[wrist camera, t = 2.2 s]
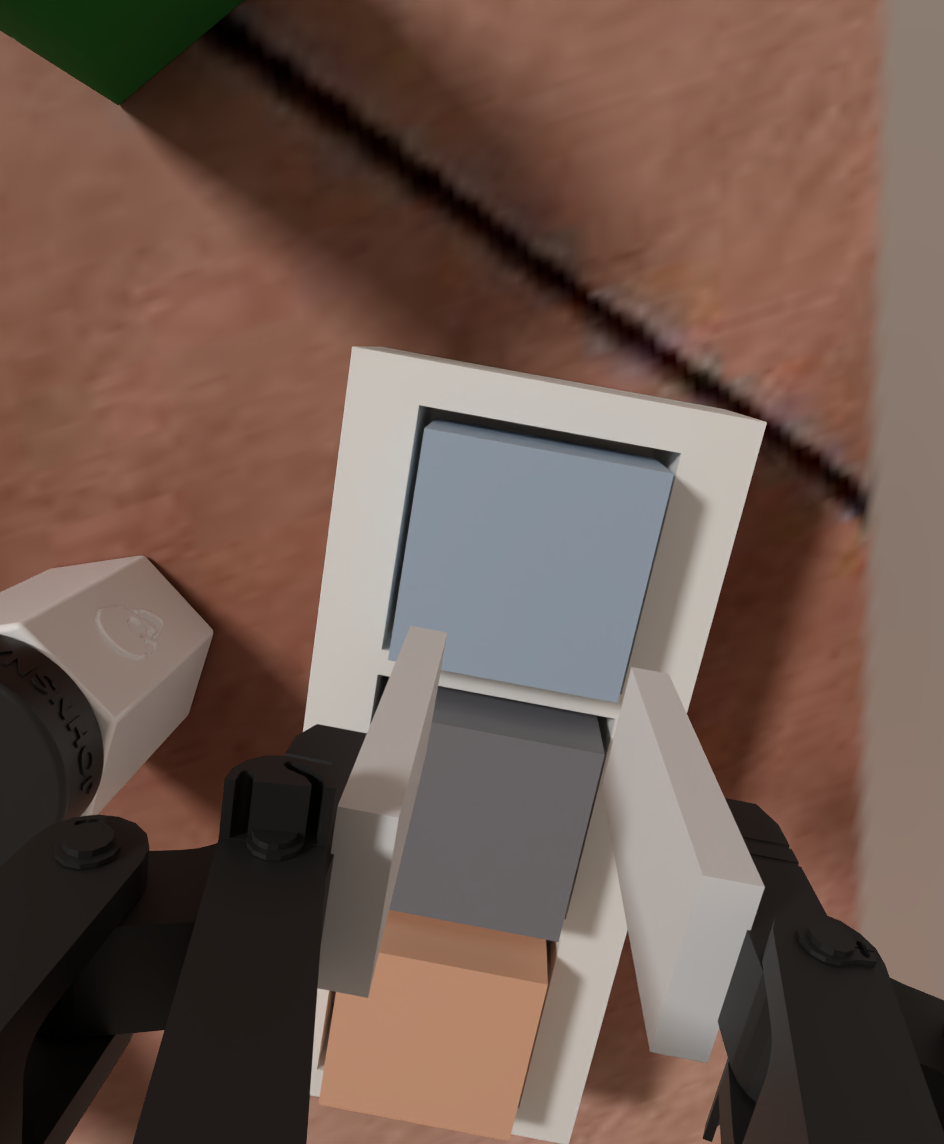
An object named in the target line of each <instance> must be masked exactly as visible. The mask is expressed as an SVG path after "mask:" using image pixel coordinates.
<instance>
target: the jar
mask: <svg viewBox="0 0 944 1144" xmlns="http://www.w3.org/2000/svg"><path fill="white" fill-rule="evenodd" d="M212 637H213V630H212V628H211V627H210V626H209V625H208V624H207V623H206V622H205V621H204V619H203V618H202V617H201V616H200V615H199V614H198V613H197V612H196V611H195V610H194V609H193V608H192V606H191V605H190V604H189V603H188V602H187V601H186V600H185V599H184V598H183V597H182V596H181V595H180V593H179V592H178V591H177V590H176V589H175V588H174V587H173V586H172V585H171V584H170V583H169V581H168V580H167V579H166V578H165V577H164V576H163V575H162V574H161V573H160V572H159V571H158V569H157V568H156V567H155V566H154V565H153V564H152V563H151V562H150V561H149V560H148V559H147V558H146V557H145V556H134V557H127V558H121V559H114V560H107V561H101V562H94V563H87V564H80V565H73V566H66V567H59V568H52V569H49V570H47V571H45V572H42V573H40V574H38V575H36V576H34V577H32V578H30V579H27V580H25V581H23V582H21V583H19V584H17V585H15V586H12V587H10V588H8V589H6V590H4V591H2V592H0V866H1V865H3V864H4V863H5V862H6V861H7V860H8V859H9V858H10V857H11V856H12V855H14V854H15V853H16V852H17V851H18V850H19V849H20V848H21V847H22V846H24V845H25V844H26V843H27V842H28V841H29V840H30V839H31V838H32V837H33V836H35V835H36V834H38V833H39V832H41V831H43V830H44V829H46V828H47V827H49V826H50V825H52V824H55V823H58V822H61V821H64V820H67V819H70V818H73V817H81V816H89V815H98V814H99V813H100V811H101V810H102V809H103V808H104V807H105V806H106V805H107V804H108V803H109V802H110V800H111V799H112V798H113V797H114V796H115V795H116V794H117V793H118V792H119V790H120V789H121V788H122V787H123V786H124V785H125V784H126V783H127V782H128V781H129V779H130V778H131V777H132V776H133V775H134V774H135V773H136V772H137V771H138V770H139V768H140V767H141V766H142V765H143V764H144V763H145V762H146V761H147V760H148V759H149V758H150V756H151V755H152V754H153V753H154V752H155V751H156V750H157V749H158V748H159V747H160V745H161V744H162V743H163V742H164V741H165V740H166V739H167V738H168V737H169V736H170V734H171V733H172V732H173V731H174V730H175V729H176V728H177V727H178V726H179V725H180V723H181V722H182V721H183V720H184V719H185V718H186V717H187V716H188V714H189V712H190V708H191V705H192V702H193V699H194V695H195V692H196V689H197V686H198V682H199V679H200V676H201V673H202V669H203V666H204V663H205V660H206V656H207V653H208V650H209V647H210V643H211V640H212Z"/></svg>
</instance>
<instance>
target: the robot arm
mask: <svg viewBox="0 0 944 1144" xmlns="http://www.w3.org/2000/svg"><path fill="white" fill-rule="evenodd" d="M446 639H447V632H441V631H436V630H431V629H425V628H420V627H414V626H410V628H409V630H408V633H407V635H406V638H405V640H404V643H403V645H402V648H401V650H400V653H399V655H398V658H397V660H396V663H395V665H394V668H393V670H392V673H391V675H390V678H389V680H388V682H387V685H386V687H385V690H384V692H383V695H382V697H381V700H380V702H379V705H378V707H377V710H376V712H375V715H374V717H373V720H372V722H371V725H370V727H369V730H368V732H367V733H362V732H357V731H352V730H346V729H341V728H336V727H330V726H325V725H320V724H316V725H314V726H313V727H311V728H309V729H308V730H306V731H304V732H302V733H301V734H299V735H297V736H296V737H295V739H294V741H293V742H292V744H291V746H290V748H289V749H288V751H287V753H286V756H263V757H259V758H255V759H251V760H247V761H245V762H243V763H241V764H239V765H238V766H236V767H234V768H232V770H231V771H230V773H229V774H228V775H227V777H226V778H225V783H224V793H223V803H222V813H221V823H220V833H219V840H218V843H216V844H213V845H210V846H206V847H202V848H197V849H187V850H169V851H149V843H148V838H147V834H146V833H145V832H144V831H143V830H142V829H141V828H140V827H139V826H138V825H137V824H136V823H133V822H131V821H128V820H126V819H123V818H120V817H115V816H105V815H89V816H81V817H73V818H70V819H67V820H64V821H61V822H58V823H55V824H52V825H50V826H49V827H47V828H46V829H44V830H43V831H41V832H39V833H38V834H36V835H35V836H33V837H32V838H31V839H30V840H29V841H28V842H27V843H26V844H25V845H24V846H22V847H21V848H20V849H19V850H18V851H17V852H16V853H15V854H14V855H12V856H11V857H10V858H9V859H8V860H7V861H6V862H5V863H4V864H3V865H1V866H0V1144H65V1143H66V1141H67V1140H68V1138H69V1137H70V1135H71V1133H72V1132H73V1130H74V1129H75V1127H76V1126H77V1124H78V1122H79V1121H80V1119H81V1118H82V1116H83V1114H84V1113H85V1111H86V1110H87V1108H88V1107H89V1105H90V1103H91V1102H92V1100H93V1099H94V1097H95V1096H96V1094H97V1092H98V1091H99V1089H100V1088H101V1086H102V1084H103V1083H104V1081H105V1080H106V1078H107V1077H108V1075H109V1073H110V1072H111V1070H112V1069H113V1067H114V1065H115V1064H116V1062H117V1061H118V1059H119V1058H120V1056H121V1054H122V1053H123V1051H124V1050H125V1048H126V1047H127V1045H128V1043H129V1042H130V1040H131V1037H132V1034H133V1033H138V1032H148V1031H158V1030H165V1031H164V1034H163V1038H162V1041H161V1045H160V1049H159V1052H158V1056H157V1059H156V1063H155V1066H154V1070H153V1073H152V1077H151V1080H150V1084H149V1087H148V1091H147V1095H146V1098H145V1102H144V1105H143V1109H142V1112H141V1116H140V1119H139V1123H138V1126H137V1130H136V1133H135V1137H134V1141H133V1144H306V1141H307V1127H308V1113H309V1099H310V1085H311V1071H312V1057H313V1043H314V1029H315V1015H316V1002H317V988H318V989H324V990H329V991H334V992H339V993H344V994H350V995H355V996H360V997H365V998H368V997H369V992H370V988H371V984H372V980H373V976H374V971H375V967H376V963H377V959H378V955H379V950H380V946H381V942H382V938H383V933H384V929H385V925H386V921H387V917H388V912H389V908H390V904H391V900H392V895H393V891H394V887H395V883H396V879H397V874H398V870H399V866H400V862H401V858H402V853H403V849H404V845H405V841H406V836H407V832H408V828H409V824H410V820H411V815H412V811H413V807H414V803H415V798H416V794H417V790H418V786H419V782H420V777H421V773H422V769H423V765H424V760H425V756H426V752H427V746H428V740H429V735H430V729H431V723H432V718H433V712H434V707H435V701H436V695H437V690H438V684H439V678H440V673H441V667H442V661H443V656H444V650H445V644H446ZM602 791H603V796H604V802H605V807H606V813H607V818H608V824H609V829H610V835H611V840H612V846H613V851H614V857H615V862H616V868H617V873H618V879H619V884H620V890H621V895H622V901H623V906H624V912H625V917H626V923H627V928H628V934H629V939H630V945H631V950H632V956H633V961H634V967H635V972H636V978H637V984H638V989H639V995H640V1000H641V1006H642V1011H643V1017H644V1022H645V1028H646V1033H647V1039H648V1044H649V1050H650V1052H652V1053H658V1054H663V1055H668V1056H673V1057H679V1058H684V1059H689V1060H694V1061H699V1062H705V1063H708V1060H709V1057H710V1054H711V1051H712V1047H713V1044H714V1041H715V1038H716V1035H717V1032H718V1029H719V1028H720V1031H721V1035H722V1038H723V1042H724V1045H725V1049H726V1052H727V1056H728V1059H727V1062H726V1065H725V1068H724V1071H723V1074H722V1077H721V1080H720V1083H719V1086H718V1089H717V1092H716V1095H715V1098H714V1101H713V1104H712V1107H711V1110H710V1113H709V1116H708V1119H707V1122H706V1126H705V1131H704V1135H703V1139H705V1140H708V1141H710V1142H712V1140H713V1137H714V1134H715V1131H716V1128H717V1126H718V1125H720V1132H721V1144H944V1000H941V999H939V998H936V997H934V996H931V995H929V994H926V993H924V992H921V991H919V990H916V989H914V988H912V987H909V986H907V985H904V984H902V983H900V982H898V981H896V980H894V979H892V978H890V977H889V975H888V972H887V969H886V966H885V964H884V962H883V960H882V958H881V957H880V955H879V953H878V952H877V950H876V948H875V947H873V946H872V945H871V944H870V943H869V942H868V941H867V940H866V939H865V938H864V937H863V936H862V935H861V934H860V933H858V932H857V931H855V930H854V929H852V928H850V927H849V926H847V925H846V924H844V923H842V922H841V921H839V920H836V919H834V918H832V917H829V916H827V914H826V913H825V911H824V909H823V907H822V905H821V903H820V901H819V900H818V898H817V896H816V894H815V892H814V890H813V888H812V886H811V885H810V883H809V881H808V879H807V877H806V875H805V873H804V872H803V870H802V868H801V867H799V866H798V863H799V862H798V860H797V859H796V857H795V855H794V853H793V851H792V849H789V844H788V842H787V840H786V838H785V836H784V834H783V833H782V831H781V829H780V827H779V825H778V824H777V823H776V822H775V821H774V820H773V819H772V818H771V817H769V816H768V815H767V814H766V813H765V812H764V811H763V810H762V809H761V808H760V807H759V806H758V805H756V804H752V803H747V802H742V801H736V800H731V799H726V798H724V795H723V793H722V791H721V789H720V786H719V784H718V782H717V780H716V778H715V775H714V773H713V771H712V769H711V766H710V764H709V762H708V760H707V758H706V755H705V753H704V751H703V749H702V746H701V744H700V742H699V740H698V738H697V735H696V733H695V731H694V729H693V726H692V724H691V722H690V720H689V718H688V715H687V713H686V711H685V709H684V706H683V704H682V702H681V700H680V698H679V695H678V693H677V691H676V689H675V686H674V684H673V682H672V680H671V678H670V675H669V674H667V673H661V672H656V671H651V670H645V669H640V668H634V667H631V670H630V674H629V678H628V683H627V687H626V691H625V695H624V699H623V703H622V707H621V711H620V715H619V719H618V723H617V727H616V731H615V735H614V739H613V743H612V747H611V751H610V755H609V759H608V763H607V767H606V771H605V775H604V779H603V783H602Z"/></svg>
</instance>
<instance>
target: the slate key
mask: <svg viewBox="0 0 944 1144" xmlns="http://www.w3.org/2000/svg"><path fill="white" fill-rule="evenodd" d="M673 476H674V474H673V473H672V472H671V471H670V470H669V469H667V468H666V467H665V466H664V465H663V464H661V463H660V462H659V461H658V460H656V459H655V458H654V457H649V456H644V455H638V454H633V453H627V452H622V451H616V450H611V449H605V448H600V447H594V446H589V445H584V444H578V443H573V442H567V441H562V440H556V439H551V438H545V437H540V436H535V435H529V434H524V433H518V432H513V431H507V430H502V429H496V428H491V427H485V426H480V425H475V424H469V423H464V422H458V421H453V420H447V419H442V418H436V419H435V420H434V421H433V422H431V423H430V424H429V425H428V426H426V427H425V428H424V434H423V440H422V446H421V453H420V459H419V466H418V472H417V478H416V485H415V491H414V498H413V504H412V510H411V517H410V523H409V529H408V536H407V542H406V549H405V555H404V561H403V568H402V574H401V580H400V587H399V593H398V600H397V606H396V612H395V619H394V625H393V631H392V638H391V644H390V651H389V657H388V660H390V661H396V660H397V658H398V655H399V653H400V650H401V648H402V645H403V643H404V640H405V638H406V635H407V633H408V630H409V628H410V626H414V627H420V628H425V629H431V630H436V631H441V632H447V639H446V644H445V650H444V656H443V661H442V667H441V670H444V671H449V672H454V673H460V674H465V675H471V676H476V677H481V678H487V679H492V680H497V681H503V682H508V683H513V684H519V685H524V686H529V687H535V688H540V689H545V690H551V691H556V692H561V693H567V694H572V695H578V696H583V697H588V698H594V699H599V700H604V701H610V702H615V703H618V699H619V695H620V691H621V687H622V683H623V679H624V675H625V671H626V667H627V663H628V659H629V654H630V650H631V646H632V642H633V638H634V634H635V630H636V626H637V622H638V618H639V614H640V610H641V606H642V602H643V598H644V594H645V590H646V586H647V582H648V578H649V573H650V569H651V565H652V561H653V557H654V553H655V549H656V545H657V541H658V537H659V533H660V529H661V525H662V521H663V517H664V513H665V509H666V505H667V501H668V497H669V492H670V488H671V484H672V480H673Z"/></svg>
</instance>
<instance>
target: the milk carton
mask: <svg viewBox="0 0 944 1144" xmlns="http://www.w3.org/2000/svg"><path fill="white" fill-rule="evenodd" d="M243 1H244V0H0V31H2V32H3V33H5V34H7V35H8V36H10V37H11V38H13V39H15V40H16V41H18V42H19V43H21V44H22V45H24V46H25V47H27V48H29V49H30V50H32V51H33V52H35V53H36V54H38V55H40V56H41V57H43V58H44V59H46V60H48V61H49V62H51V63H52V64H54V65H55V66H57V67H59V68H60V69H62V70H63V71H65V72H67V73H68V74H70V75H71V76H73V77H74V78H76V79H78V80H79V81H81V82H82V83H84V84H85V85H87V86H89V87H90V88H92V89H93V90H95V91H97V92H98V93H100V94H101V95H103V96H104V97H106V98H108V99H109V100H111V101H112V102H114V103H115V104H117V105H120V104H121V103H122V102H123V101H125V100H126V99H127V98H128V97H129V96H131V95H132V94H133V93H134V92H135V91H137V90H138V89H139V88H140V87H141V86H142V85H144V84H145V83H146V82H147V81H148V80H150V79H151V78H152V77H153V76H154V75H156V74H157V73H158V72H159V71H160V70H162V69H163V68H164V67H165V66H166V65H168V64H169V63H170V62H171V61H172V60H173V59H175V58H176V57H177V56H178V55H179V54H181V53H182V52H183V51H184V50H185V49H187V48H188V47H189V46H190V45H191V44H193V43H194V42H195V41H196V40H197V39H199V38H200V37H201V36H202V35H203V34H205V33H206V32H207V31H208V30H209V29H210V28H212V27H213V26H214V25H215V24H216V23H218V22H219V21H220V20H221V19H222V18H224V17H225V16H226V15H227V14H228V13H230V12H231V11H232V10H233V9H234V8H236V7H237V6H238V5H239V4H240V3H242V2H243Z"/></svg>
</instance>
